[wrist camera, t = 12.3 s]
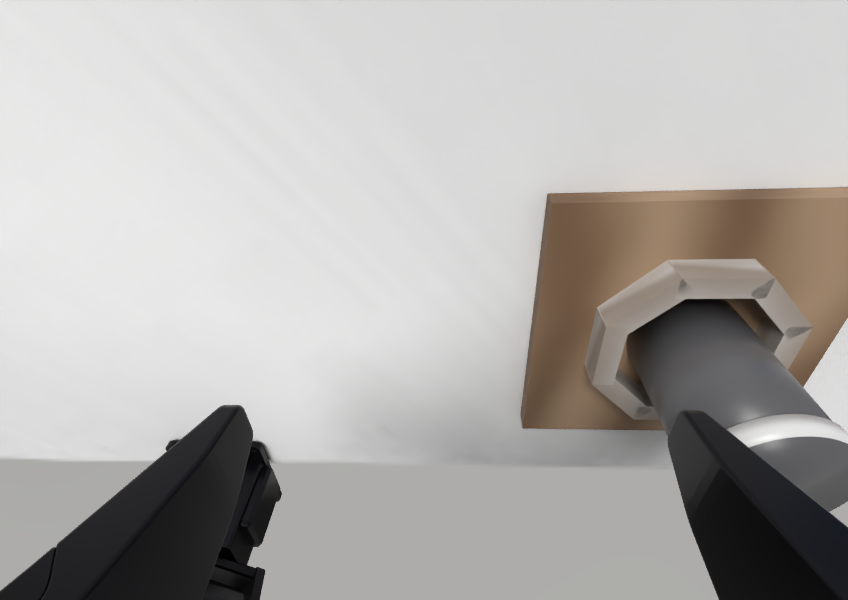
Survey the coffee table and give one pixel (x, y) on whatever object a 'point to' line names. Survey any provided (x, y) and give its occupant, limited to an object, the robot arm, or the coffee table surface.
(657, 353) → the lens cylinder
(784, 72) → the coffee table surface
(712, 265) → the collar holder
